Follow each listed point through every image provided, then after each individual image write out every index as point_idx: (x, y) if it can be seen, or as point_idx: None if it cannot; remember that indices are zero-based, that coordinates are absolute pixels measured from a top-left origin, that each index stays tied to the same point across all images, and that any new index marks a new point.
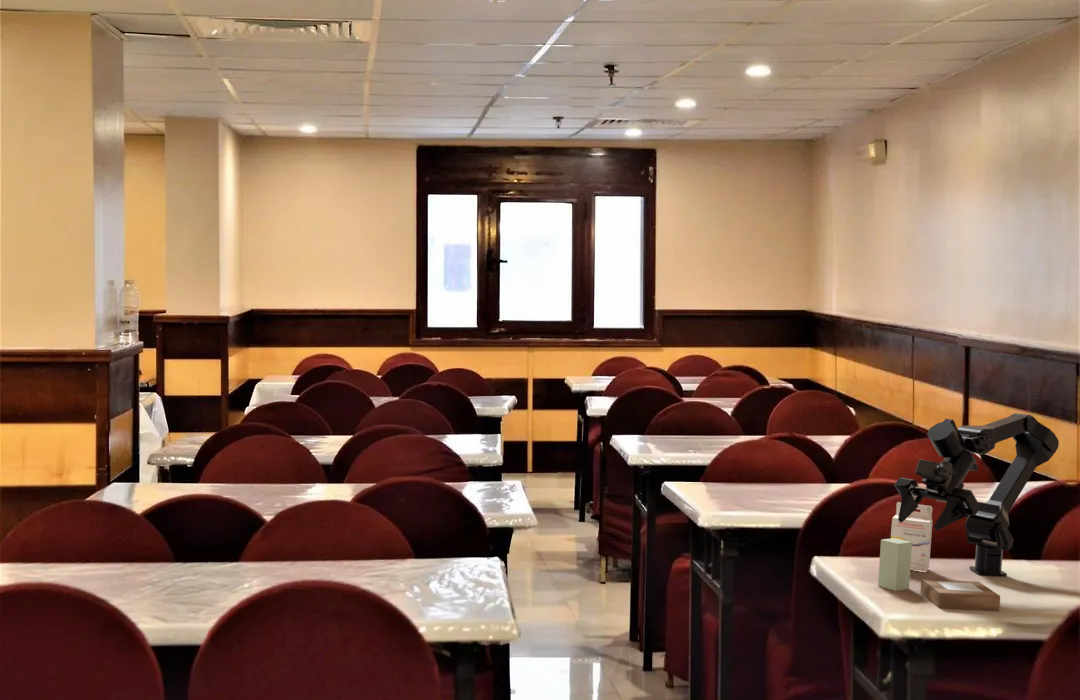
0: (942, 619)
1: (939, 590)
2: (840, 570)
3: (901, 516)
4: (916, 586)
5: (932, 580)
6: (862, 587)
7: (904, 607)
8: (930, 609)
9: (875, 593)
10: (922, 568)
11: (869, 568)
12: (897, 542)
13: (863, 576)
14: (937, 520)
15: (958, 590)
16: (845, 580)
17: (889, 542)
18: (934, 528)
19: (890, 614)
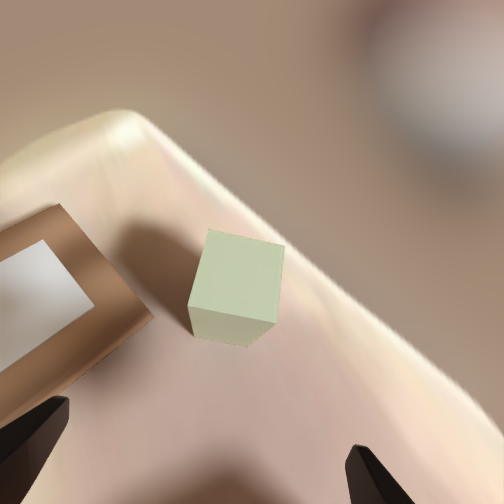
0: (49, 157)
1: (66, 223)
2: (399, 372)
3: (367, 475)
4: (192, 384)
5: (113, 315)
6: None
7: (137, 182)
8: (89, 202)
9: None
10: None
11: None
12: (222, 247)
13: (332, 362)
14: (11, 443)
15: (14, 254)
16: (324, 285)
17: (247, 239)
18: (67, 404)
19: (139, 133)
